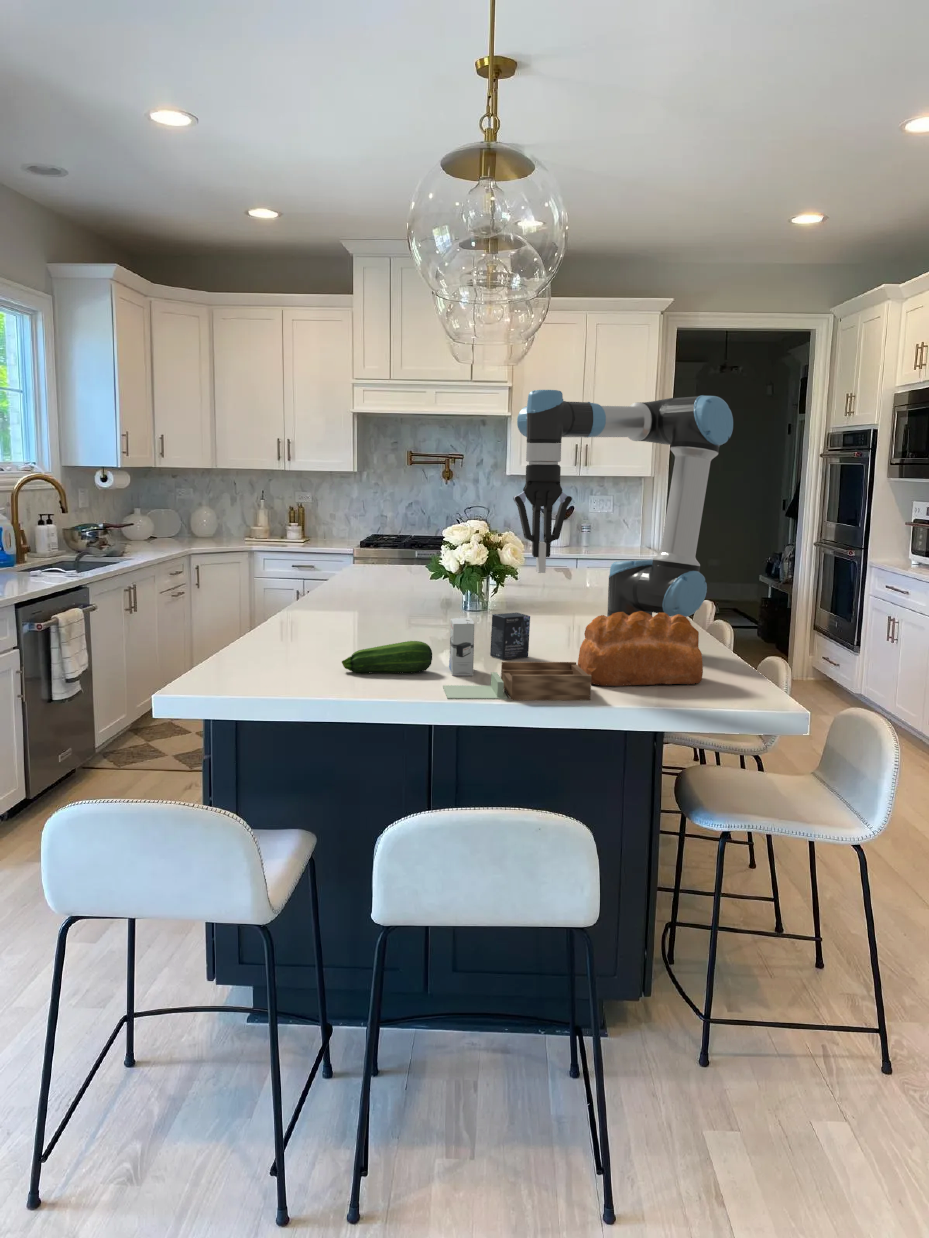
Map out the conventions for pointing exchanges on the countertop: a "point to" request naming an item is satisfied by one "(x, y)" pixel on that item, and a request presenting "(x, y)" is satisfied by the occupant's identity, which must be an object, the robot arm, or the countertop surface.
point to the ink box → (461, 646)
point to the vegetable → (391, 658)
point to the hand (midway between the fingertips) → (540, 571)
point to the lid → (477, 690)
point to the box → (510, 636)
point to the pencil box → (545, 681)
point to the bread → (641, 650)
